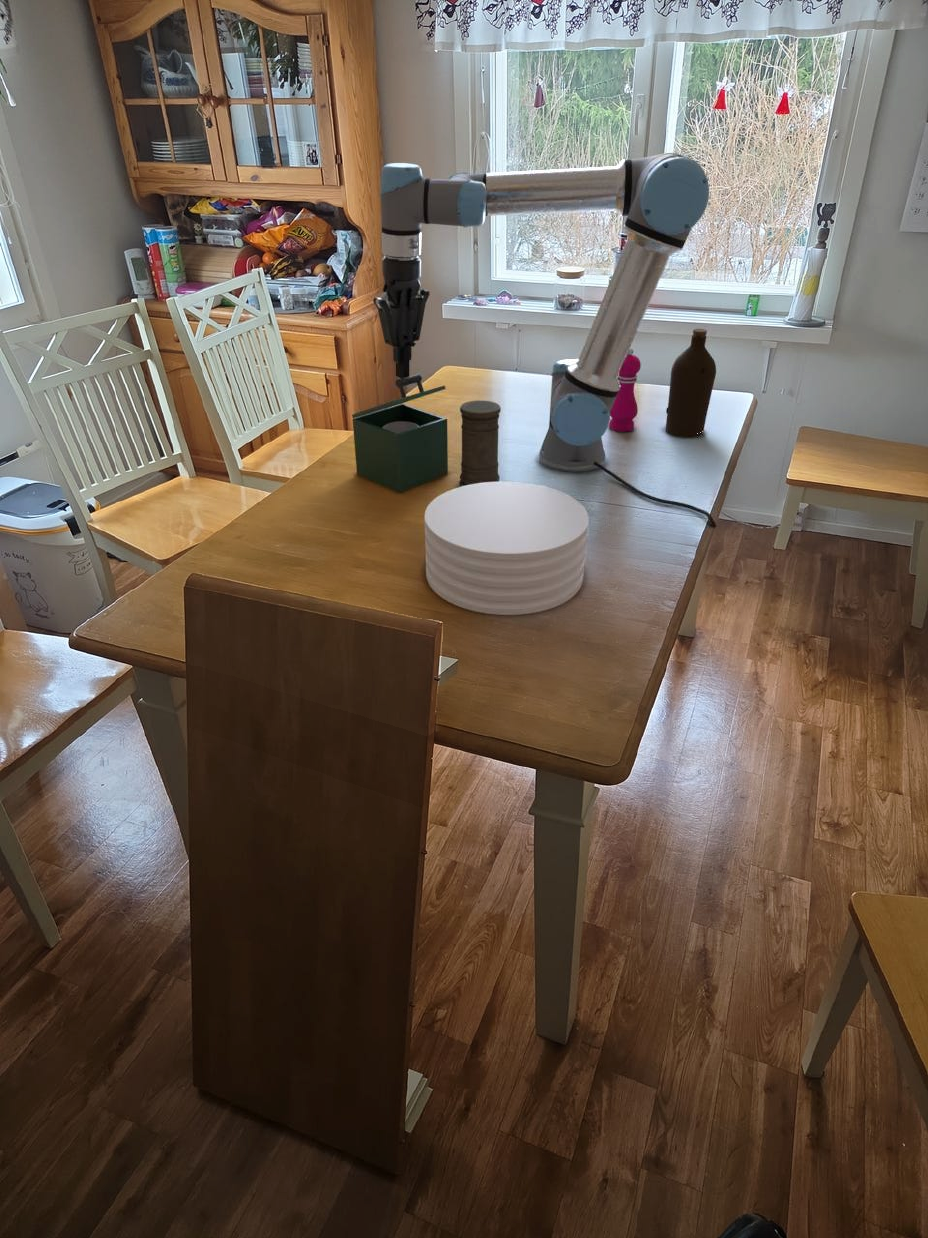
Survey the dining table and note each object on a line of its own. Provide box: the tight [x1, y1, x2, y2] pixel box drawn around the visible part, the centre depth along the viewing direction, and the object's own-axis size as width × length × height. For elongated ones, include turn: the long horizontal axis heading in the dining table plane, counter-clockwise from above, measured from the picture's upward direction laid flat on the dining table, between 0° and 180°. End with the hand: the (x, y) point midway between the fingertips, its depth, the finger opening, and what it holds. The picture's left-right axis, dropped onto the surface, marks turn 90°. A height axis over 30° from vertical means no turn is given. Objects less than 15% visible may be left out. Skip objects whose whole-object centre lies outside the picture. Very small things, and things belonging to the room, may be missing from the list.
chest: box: [352, 403, 449, 493], centre depth 175 cm, size 15×15×13 cm
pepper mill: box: [608, 347, 642, 433], centre depth 199 cm, size 7×7×20 cm
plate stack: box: [423, 481, 590, 616], centre depth 138 cm, size 28×28×12 cm
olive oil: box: [665, 328, 717, 439], centre depth 195 cm, size 11×11×25 cm
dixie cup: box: [382, 421, 419, 434], centre depth 176 cm, size 8×8×10 cm
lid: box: [351, 373, 446, 419], centre depth 170 cm, size 15×15×5 cm
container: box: [458, 399, 502, 487], centre depth 168 cm, size 9×9×18 cm
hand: (402, 376), depth 166 cm, fingers closed
